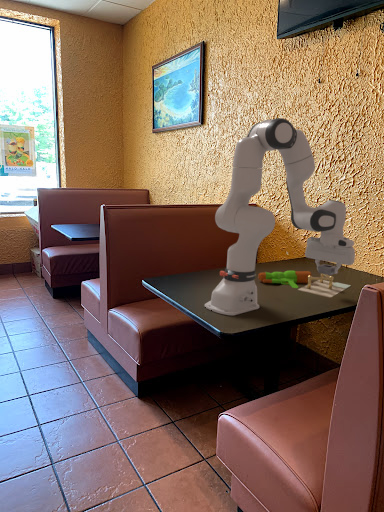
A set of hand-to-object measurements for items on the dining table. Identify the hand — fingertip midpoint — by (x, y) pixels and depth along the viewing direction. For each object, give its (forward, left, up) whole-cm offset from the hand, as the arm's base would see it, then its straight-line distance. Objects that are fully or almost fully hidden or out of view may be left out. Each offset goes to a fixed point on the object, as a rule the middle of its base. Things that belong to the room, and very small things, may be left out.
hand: (326, 271), depth 160 cm
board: (+10, +4, -11) cm, 16 cm away
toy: (+3, +20, -12) cm, 24 cm away
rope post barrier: (+10, +5, -10) cm, 15 cm away
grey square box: (0, 0, -1) cm, 1 cm away
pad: (+19, 0, -10) cm, 22 cm away
